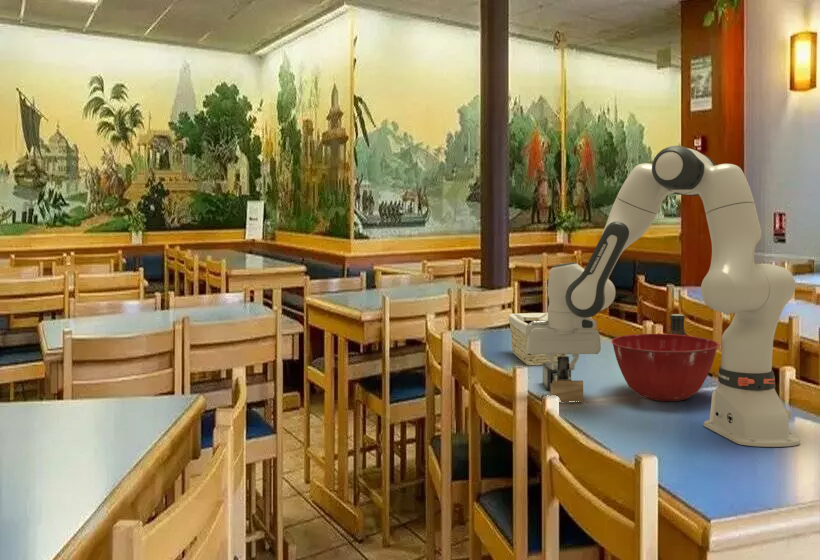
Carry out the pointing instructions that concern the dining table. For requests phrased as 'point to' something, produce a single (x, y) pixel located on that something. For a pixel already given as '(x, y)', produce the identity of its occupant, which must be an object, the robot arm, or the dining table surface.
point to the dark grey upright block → (561, 370)
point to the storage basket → (521, 338)
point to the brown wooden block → (567, 390)
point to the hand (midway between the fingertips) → (563, 369)
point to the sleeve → (549, 374)
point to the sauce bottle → (677, 324)
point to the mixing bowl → (664, 364)
